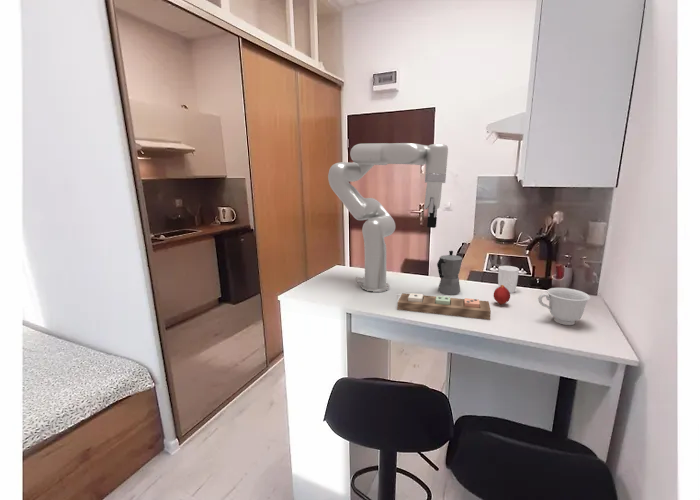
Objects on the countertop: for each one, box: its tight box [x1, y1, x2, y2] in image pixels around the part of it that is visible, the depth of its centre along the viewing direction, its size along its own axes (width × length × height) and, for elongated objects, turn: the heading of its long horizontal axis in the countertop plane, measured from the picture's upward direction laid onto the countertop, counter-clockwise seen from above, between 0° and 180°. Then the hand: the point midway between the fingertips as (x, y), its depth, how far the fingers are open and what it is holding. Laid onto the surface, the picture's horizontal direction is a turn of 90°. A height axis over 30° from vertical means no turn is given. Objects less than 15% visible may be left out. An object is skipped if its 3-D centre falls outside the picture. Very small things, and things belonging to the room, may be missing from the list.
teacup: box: [537, 287, 591, 326], centre depth 110 cm, size 12×15×10 cm
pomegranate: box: [493, 285, 511, 306], centre depth 126 cm, size 6×6×8 cm
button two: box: [436, 295, 451, 305], centre depth 122 cm, size 5×5×3 cm
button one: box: [408, 292, 424, 302], centre depth 125 cm, size 5×5×3 cm
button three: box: [463, 297, 480, 308], centre depth 119 cm, size 5×5×3 cm
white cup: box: [497, 265, 520, 294], centre depth 141 cm, size 8×8×10 cm
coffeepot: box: [436, 250, 463, 296], centre depth 139 cm, size 15×9×18 cm, turn 129°
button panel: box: [397, 293, 492, 321], centre depth 123 cm, size 32×10×3 cm, turn 72°
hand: (431, 227), depth 128 cm, fingers closed
